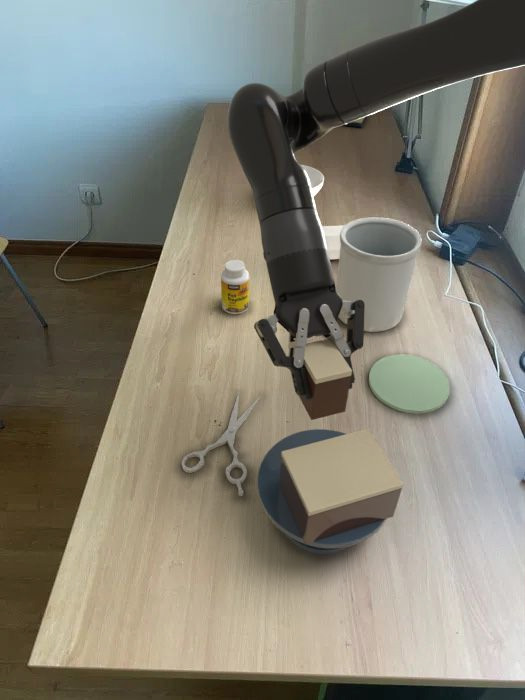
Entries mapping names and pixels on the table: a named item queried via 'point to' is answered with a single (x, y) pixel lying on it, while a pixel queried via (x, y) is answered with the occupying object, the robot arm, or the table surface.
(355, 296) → the utensil holder
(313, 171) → the bowl
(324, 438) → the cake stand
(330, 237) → the crystal
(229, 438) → the scissors
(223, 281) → the supplement bottle
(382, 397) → the plate
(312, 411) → the cake slice
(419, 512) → the table surface
